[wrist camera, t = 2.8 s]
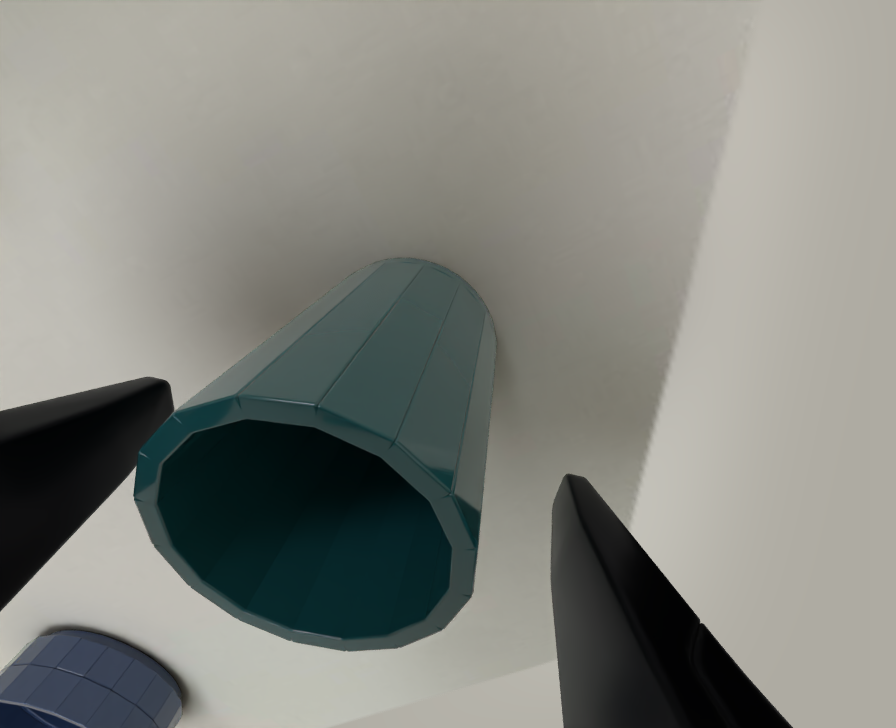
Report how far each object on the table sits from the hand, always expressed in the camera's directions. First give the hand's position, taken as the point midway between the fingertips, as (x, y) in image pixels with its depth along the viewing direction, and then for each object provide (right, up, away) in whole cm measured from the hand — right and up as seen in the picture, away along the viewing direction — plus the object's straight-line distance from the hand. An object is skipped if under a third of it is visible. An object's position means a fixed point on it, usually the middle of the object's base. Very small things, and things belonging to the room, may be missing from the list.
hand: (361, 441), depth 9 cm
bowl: (-20, -19, +19) cm, 34 cm away
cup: (+1, +2, +4) cm, 5 cm away
